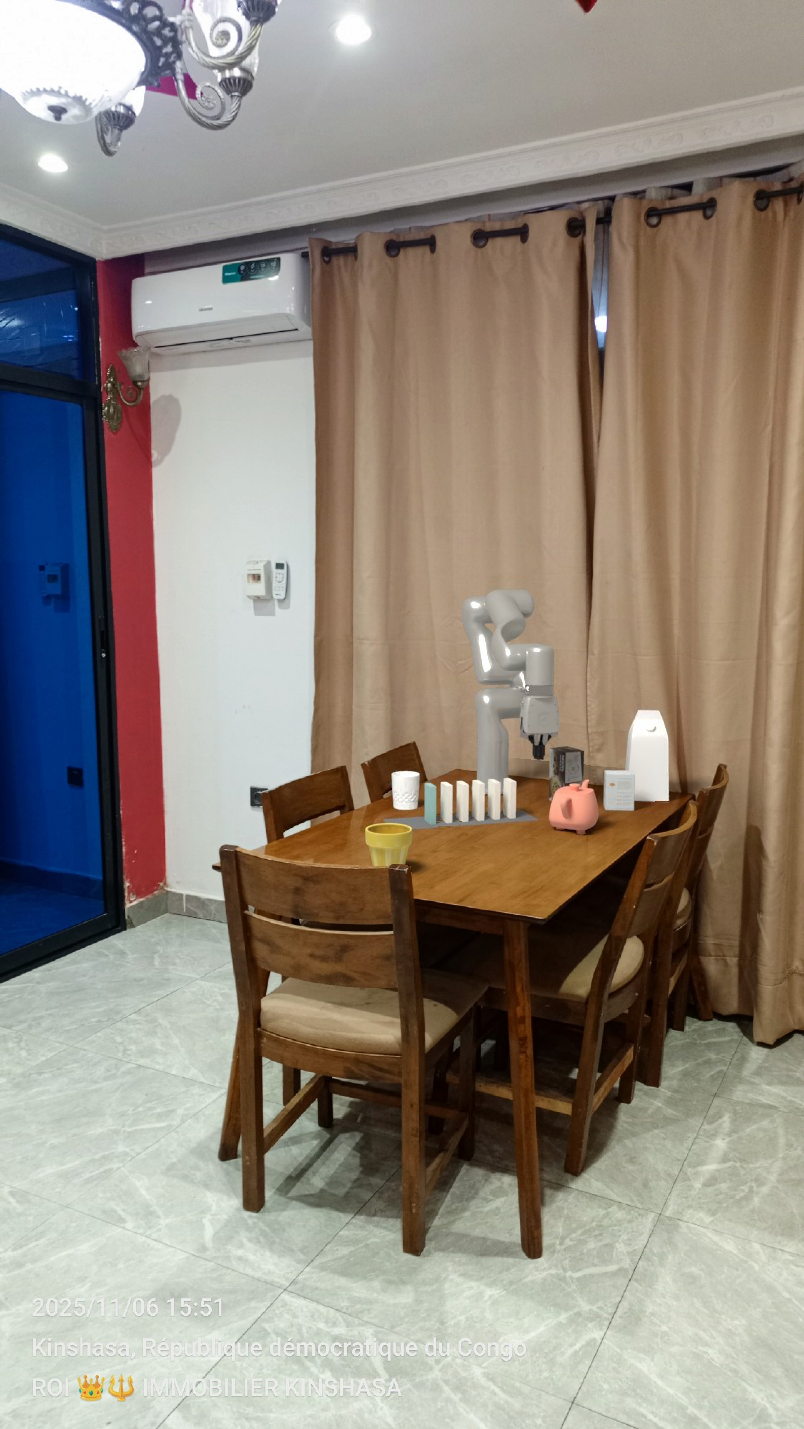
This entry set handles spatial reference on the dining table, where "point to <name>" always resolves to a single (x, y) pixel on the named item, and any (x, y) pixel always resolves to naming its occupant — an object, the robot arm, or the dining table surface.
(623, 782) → the small box
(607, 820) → the dining table surface
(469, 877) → the dining table surface
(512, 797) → the domino
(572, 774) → the coffee box
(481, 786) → the domino
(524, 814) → the mat
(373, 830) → the plant pot
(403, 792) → the white cup
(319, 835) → the dining table surface
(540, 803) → the dining table surface
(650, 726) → the milk
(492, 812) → the domino
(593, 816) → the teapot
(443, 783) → the domino
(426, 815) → the domino
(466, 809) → the domino
